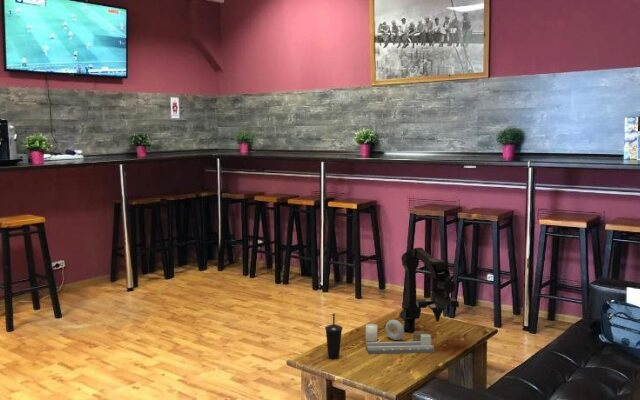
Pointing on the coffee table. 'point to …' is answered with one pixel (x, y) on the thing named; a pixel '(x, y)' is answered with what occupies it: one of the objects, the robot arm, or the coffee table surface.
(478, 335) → the coffee table surface
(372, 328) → the white rounded cylinder
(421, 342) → the tally marker
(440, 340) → the coffee table surface
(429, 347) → the rail
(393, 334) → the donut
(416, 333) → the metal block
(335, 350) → the drinking cup
